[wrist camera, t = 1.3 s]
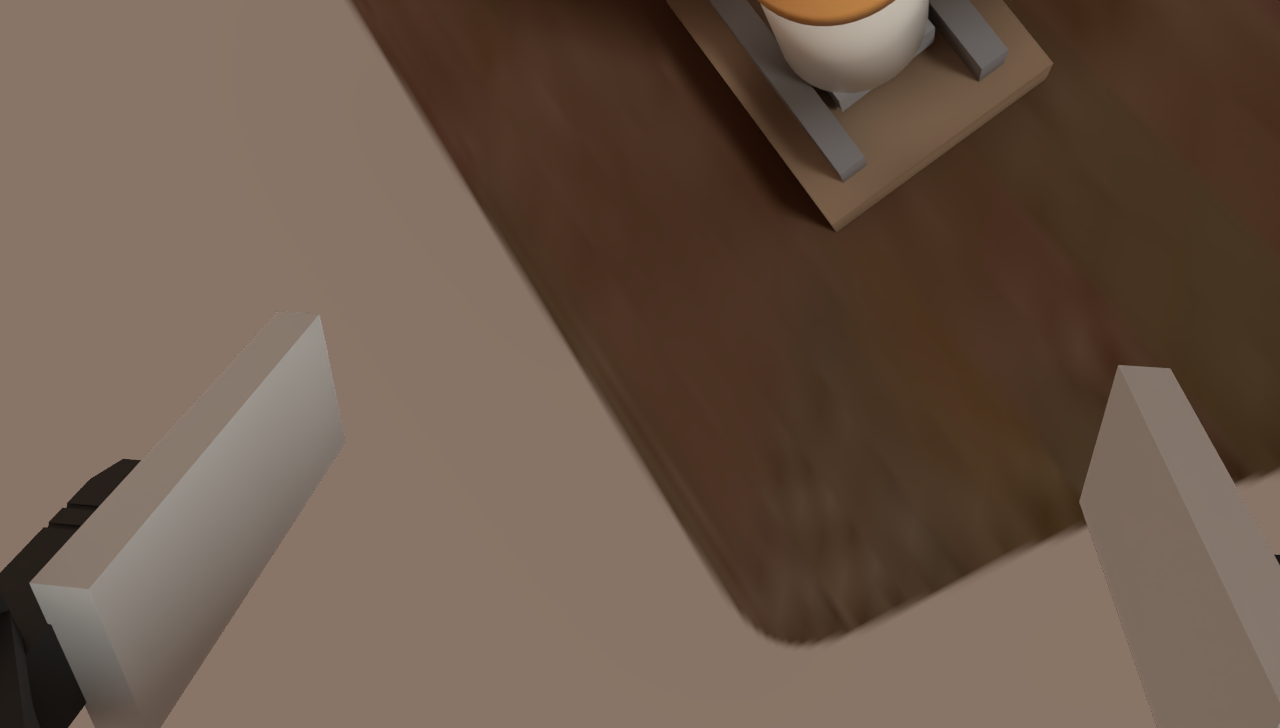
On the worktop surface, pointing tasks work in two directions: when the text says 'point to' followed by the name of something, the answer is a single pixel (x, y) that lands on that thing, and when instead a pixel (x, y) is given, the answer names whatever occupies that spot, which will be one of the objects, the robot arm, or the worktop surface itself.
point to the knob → (849, 41)
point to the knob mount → (870, 96)
